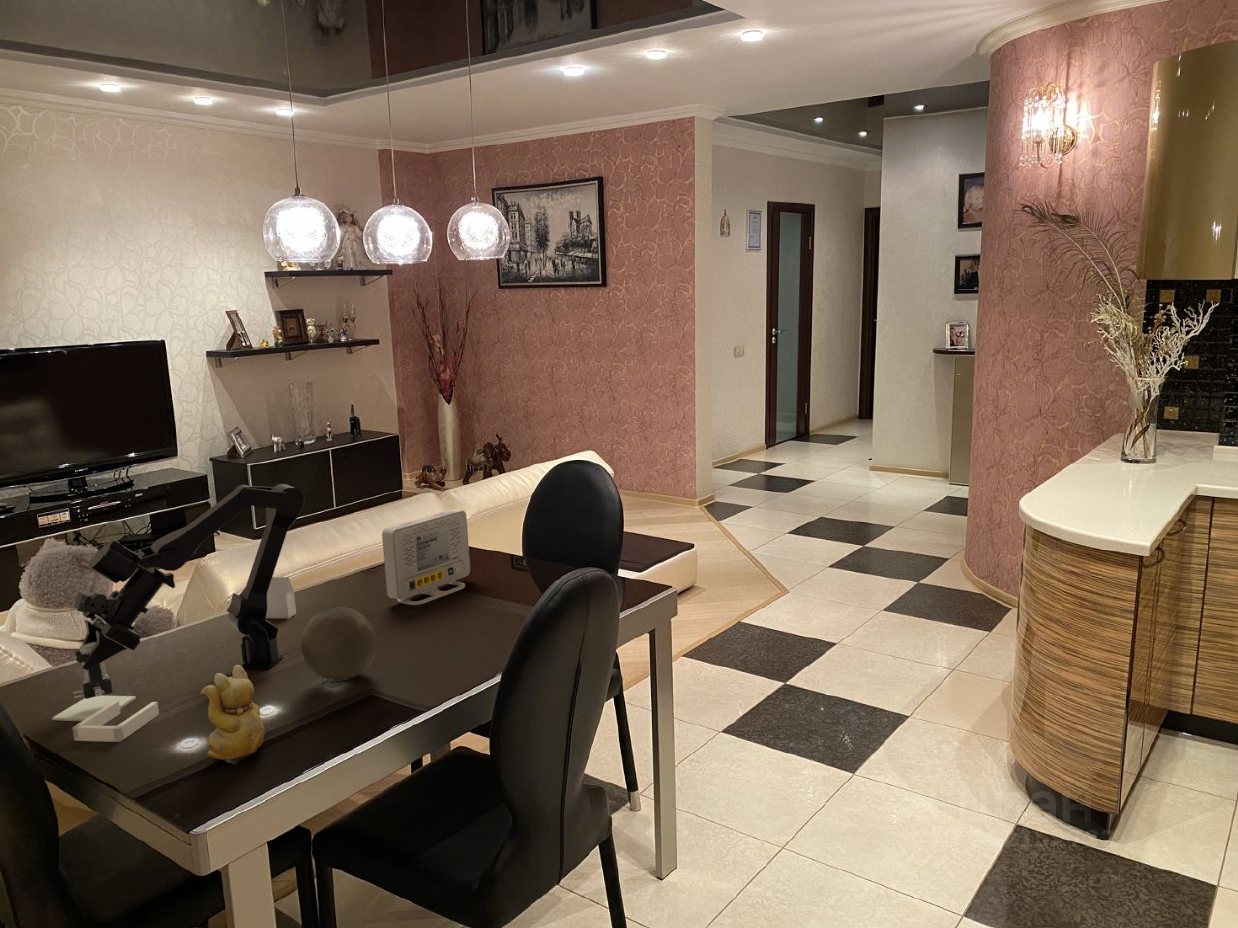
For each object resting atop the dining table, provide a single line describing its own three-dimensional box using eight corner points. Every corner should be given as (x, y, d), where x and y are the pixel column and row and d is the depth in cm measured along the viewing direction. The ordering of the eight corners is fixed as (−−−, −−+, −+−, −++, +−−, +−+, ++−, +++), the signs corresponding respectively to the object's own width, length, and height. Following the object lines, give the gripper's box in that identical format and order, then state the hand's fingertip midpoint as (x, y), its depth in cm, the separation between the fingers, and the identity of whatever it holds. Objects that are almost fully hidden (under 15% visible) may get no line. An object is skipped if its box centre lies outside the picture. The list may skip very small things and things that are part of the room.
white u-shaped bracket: (159, 714, 174) (157, 701, 173) (120, 741, 163) (118, 728, 163) (115, 713, 175) (114, 700, 175) (74, 740, 164) (72, 727, 164)
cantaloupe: (320, 667, 193) (313, 599, 191) (387, 665, 193) (380, 597, 190) (295, 696, 179) (287, 622, 177) (366, 694, 179) (359, 620, 176)
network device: (455, 578, 253) (450, 507, 250) (478, 582, 248) (473, 510, 245) (382, 604, 233) (375, 528, 230) (405, 610, 228) (398, 532, 225)
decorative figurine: (240, 738, 162) (230, 658, 160) (280, 743, 160) (271, 661, 157) (201, 765, 153) (190, 680, 151) (243, 770, 151) (232, 684, 148)
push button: (75, 704, 173) (67, 654, 171) (73, 695, 177) (65, 646, 176) (115, 694, 177) (107, 645, 175) (112, 686, 181) (104, 637, 179)
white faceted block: (288, 618, 226) (284, 579, 224) (263, 618, 227) (258, 579, 225) (296, 613, 229) (292, 574, 228) (271, 613, 230) (266, 574, 229)
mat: (135, 698, 182) (135, 696, 181) (100, 721, 172) (100, 718, 172) (90, 697, 183) (89, 695, 183) (52, 720, 173) (52, 717, 173)
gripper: (87, 565, 182) (32, 633, 177) (111, 583, 169) (52, 658, 163) (136, 593, 189) (84, 660, 184) (163, 613, 175) (108, 686, 170)
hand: (81, 665), depth 175 cm, fingers closed on push button, 5 cm apart
